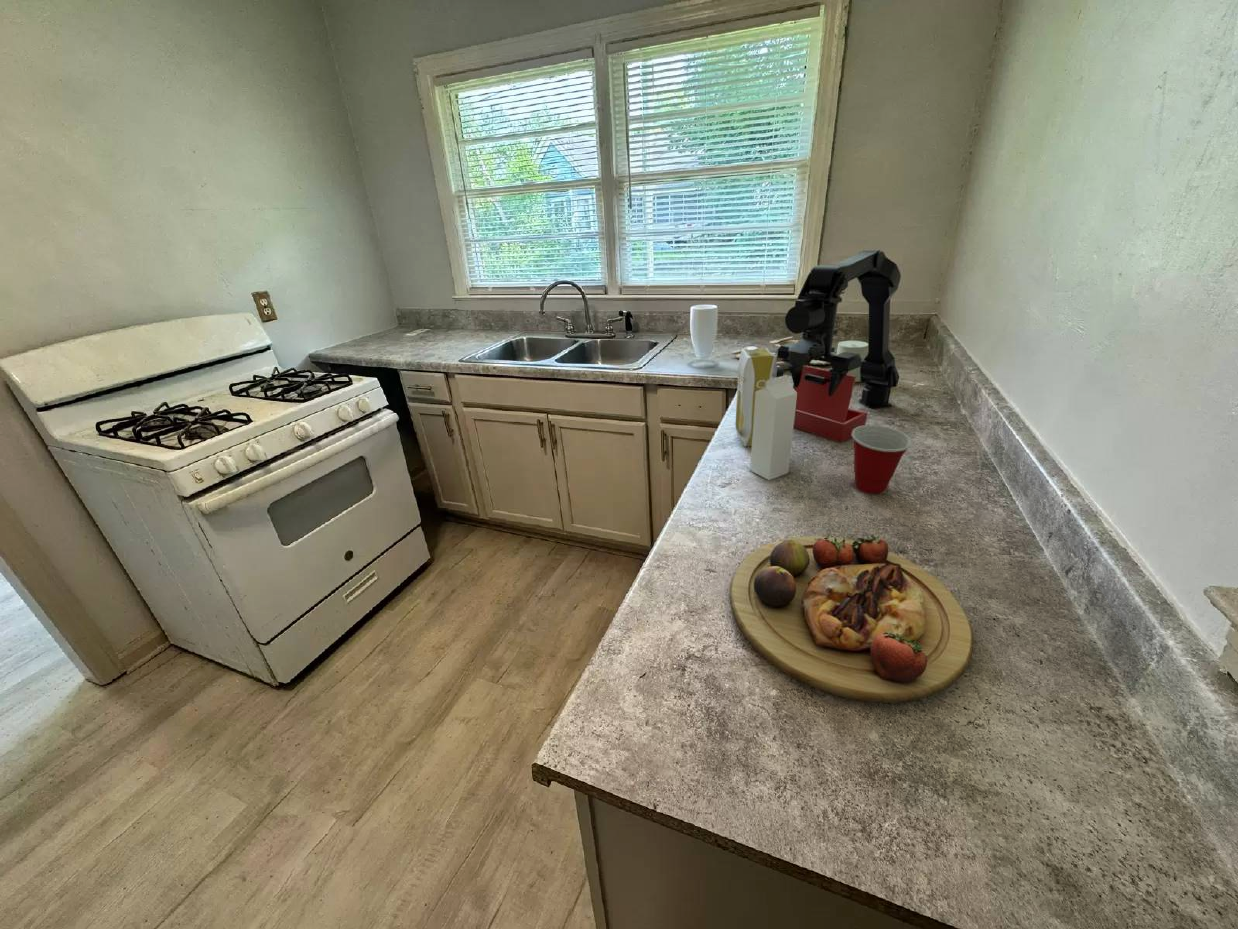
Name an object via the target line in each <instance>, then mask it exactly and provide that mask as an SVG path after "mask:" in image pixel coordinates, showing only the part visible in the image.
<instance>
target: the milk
mask: <svg viewBox="0 0 1238 929" xmlns="http://www.w3.org/2000/svg"><path fill="white" fill-rule="evenodd" d="M788 379H789V375H788V374H784V376H781V377H777V378H773V379H770V380H767V382H766V388H763V389H761V390H758V391H756V393H755V408H754V422H753V437H752V446H751V453H750V465H749V467H750V468H749V470H750V471H751V472H753V473H755V474H756V475H758V476H760V477H762V478H764V479H766V480H767V481H772V480H774V479H777V478H780V477H781V476H784V475H788V474H789V472H790V462H791V453H792V445H793V444H792V443H793V434H794V428H795V427H794V418H795V409H796V400H797V392H796V391H795V390H794V389H793V385H791V384H790V383H789V380H788Z"/></svg>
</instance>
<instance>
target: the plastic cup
mask: <svg viewBox="0 0 1238 929" xmlns="http://www.w3.org/2000/svg"><path fill="white" fill-rule="evenodd" d="M851 438H852V440H853V472H854V484H855V485H854V486H855V487H856V489H857V490H859V491H860V492H862V493H865V494H869V495H879V494H883V493H884V492H886V490H887V488H888V487H889V484H890V481H891V479H892V478H893V476H894V474H895V471H896V469H897V467H898V465H899V463H900V460H902V459H901V458H902V457H903V456H904V454H905V453H906V451H907V450H908V449H909V448H911V446H912V443H913V440H912V439H911V438H910V437H909V435H908V434H907V433H904V432H903V431H901V430H899V429H896V428H893V427H890V426H885V425H879V424H865V425H863V426H858V427H856V428H855V429H853V431H852V437H851Z"/></svg>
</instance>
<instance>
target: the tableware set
mask: <svg viewBox="0 0 1238 929" xmlns="http://www.w3.org/2000/svg"><path fill="white" fill-rule="evenodd" d="M798 341H799V340H797V339H795V340H794V336H788V337H785V338H780V339H777V340H770V341H769V344H772V345H774V347H776V348H777V349H778V348H779V347H780V346H781V345H784V344H788V343H791V342H793V343H796V342H798ZM749 347H752V346H751V345H747V346H745V347H744V348H741V349H738V350H735V351H731V354H732V355H734V357H735V358H737V359H740V355H741V350H745V349H747V348H749ZM771 353H772V354H773V355H775V356H776V359H777V366H779V367H782V368H783V369H784V370H788V369H789V367H788V365H787V364H785V363H784V362H782V361H781V359H782V358H777V352H771ZM808 365H811V366H812V365H814V366H824V365H825V366H826V365H831V363H829V362H824V361H819V360H817V361H816V360H812V361H811V362H810V363H809V364H808Z"/></svg>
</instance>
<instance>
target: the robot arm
mask: <svg viewBox="0 0 1238 929" xmlns="http://www.w3.org/2000/svg"><path fill="white" fill-rule="evenodd" d="M901 278H902V275H901V271H900V269H899V267H898V265H897V263H896V262H894V261H892V260H891V259H889V257H887V256H886V254H885V252H884V251H883V250H882V251H881V249H863V250H861V251H859V252H858V253H857V254H855V255H853V256H850V257H848V258H845V259H844V260H842V261H839V262H838V263H834V264H819V265H815V266H813V267H812V268H811V269H810V272H808V274H807V277H806V279H805V281H804V283H803V284H802V287H801V289H800V291H799V294H798V295H797V299H795V301H794V306H792V307H791V308H789V310H788V311H787V313H786V315H785V317H784V323H785V326H786V328H787V330H788V331H790V333H792V334H802V337H801V339H800V340H797V341H798V342H796V343H793V342H791V343H788V344H784V345H781V346H780V347H779V348H778V347H777V350H776V353H777V358H782V359H781V361H782V362H784V363H785V364H787V365H788V367H789V368H788V369H789V372H790V376H791V379H792V383H793V384H794V387H795V388H797V387H798V386H799V383H800V380H801V375H802V370H803V365H804V366H809V365H810V364H809V363H810V362H811V361H812V360H816V361H817V360H819V361H824V362H829V363H831V364H830V367H831V368H830V369H829V370H828V371H829V372H830V374H831V378H830V384H829V390H828V396H832V395H833V393H834V392H835V390H836V389H837V387H838V386H839V384H840V382H841V381H842V379H843V378H844V377H845V376H846V374H847V373H848V372H849V371H852V370H854V369H856V368H858V367H861V368H860V381H859V383H864V387H863V388H862V392H861V398H859V399H858V402H859V403H861V404H863V405H865V406H866V407H867V408H870V409H877V408H885V407H892V406H893V403H891V402H889V401H890V396H891V391H892V388H897V386H898V383H899V381H900V374H899V371H898V369H897V367H896V358H895V356H894V355H893V353H892V352H891V351H890V350H889V344H890V321H891V320H890V319H891V318H890V316H891V299H892V297H893V296H894V295H895V293H896V292H897V291H898V289H899V285H900V282H901ZM855 279H857V281H858V282H859V284H860V290H861V295H862V297H863V298H864V299H865V301H866V302H867V304H868V331H867V332H868V333H867V334H868V340H867V343H868V349H867V354H866V357H865V358H864V360H863V361H862V359H861V357H860V355H859V354H854V353H849V352H844V353H841V354H838V355H837V354H834V352H835V351H836V350H835V349H836V347H835V346H833V343H834V342H833V341H834V335H837V334H838V328H835V327H836V320H837V311H838V305H839V303H842V302H843V298H842V297H841V294H842V293H843V292H844V291H845V290H846V289H847V288H848V287H849V282H851V281H853V280H855ZM832 353H833V354H832Z"/></svg>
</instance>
